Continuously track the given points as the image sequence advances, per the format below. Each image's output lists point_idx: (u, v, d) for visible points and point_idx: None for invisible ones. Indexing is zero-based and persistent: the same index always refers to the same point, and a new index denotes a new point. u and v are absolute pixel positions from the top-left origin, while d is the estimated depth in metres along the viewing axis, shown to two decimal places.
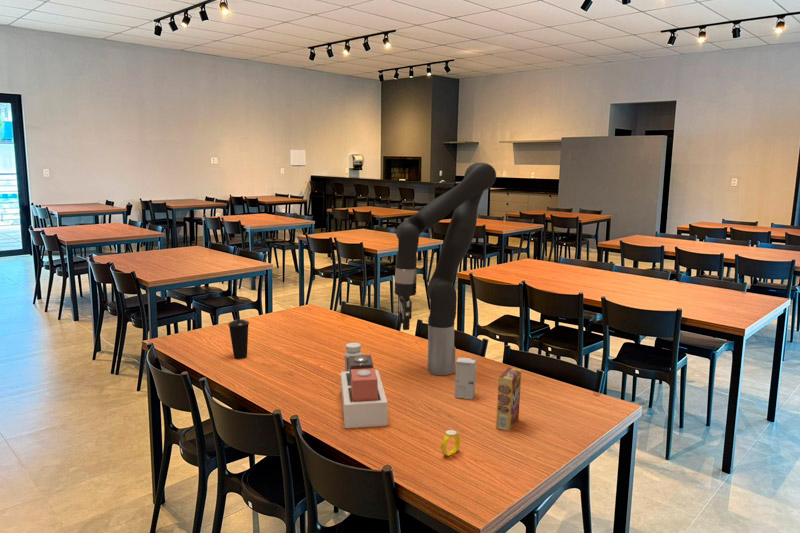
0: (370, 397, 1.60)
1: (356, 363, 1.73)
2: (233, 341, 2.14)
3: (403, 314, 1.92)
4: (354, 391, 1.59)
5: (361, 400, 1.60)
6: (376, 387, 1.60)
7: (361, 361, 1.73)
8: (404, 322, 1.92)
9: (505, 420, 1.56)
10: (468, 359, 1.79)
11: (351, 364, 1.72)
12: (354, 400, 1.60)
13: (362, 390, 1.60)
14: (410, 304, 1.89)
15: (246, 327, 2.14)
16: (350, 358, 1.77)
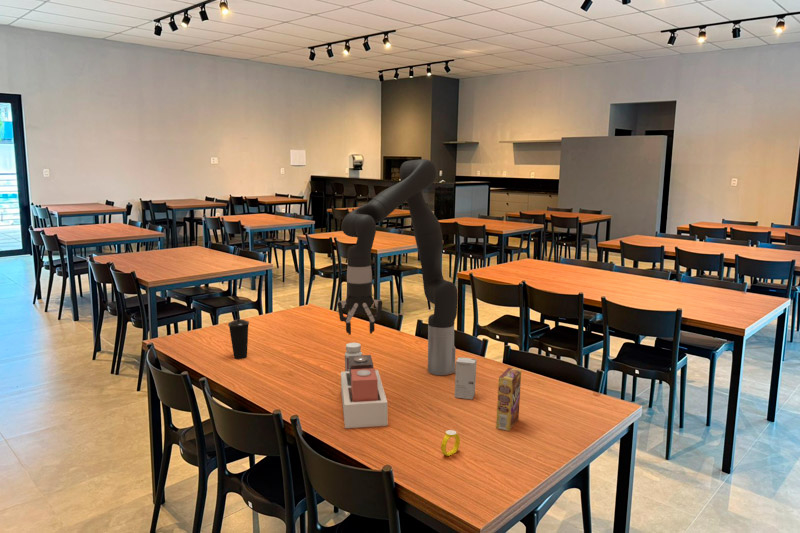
0: (370, 397, 1.60)
1: (356, 363, 1.73)
2: (233, 341, 2.14)
3: (373, 316, 1.72)
4: (354, 391, 1.59)
5: (361, 400, 1.60)
6: (376, 387, 1.60)
7: (361, 361, 1.73)
8: (373, 324, 1.73)
9: (505, 420, 1.56)
10: (468, 359, 1.79)
11: (351, 364, 1.72)
12: (354, 400, 1.60)
13: (362, 390, 1.60)
14: None
15: (246, 327, 2.14)
16: (350, 358, 1.77)
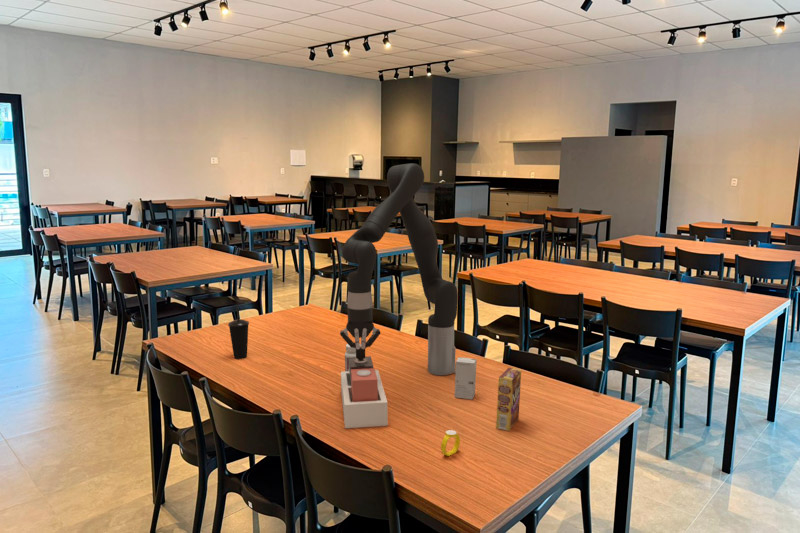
0: (370, 397, 1.60)
1: (356, 364, 1.73)
2: (233, 341, 2.14)
3: (365, 344, 1.74)
4: (354, 391, 1.59)
5: (361, 400, 1.60)
6: (376, 387, 1.60)
7: (361, 362, 1.74)
8: (364, 351, 1.74)
9: (505, 420, 1.56)
10: (468, 359, 1.79)
11: (351, 365, 1.72)
12: (354, 400, 1.60)
13: (362, 390, 1.60)
14: None
15: (246, 327, 2.14)
16: (350, 359, 1.77)
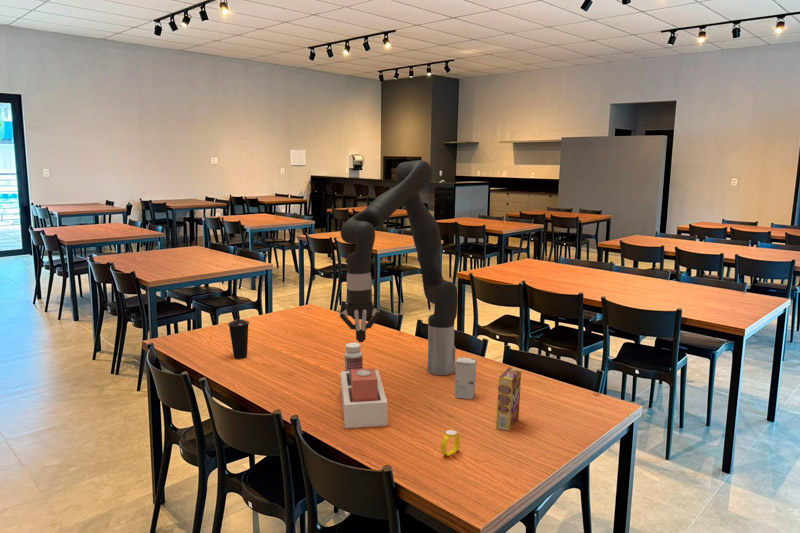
0: (370, 397, 1.60)
1: None
2: (233, 341, 2.14)
3: (365, 325, 1.72)
4: (354, 391, 1.59)
5: (361, 400, 1.60)
6: (376, 387, 1.60)
7: None
8: (364, 333, 1.73)
9: (505, 420, 1.56)
10: (468, 359, 1.79)
11: None
12: (354, 400, 1.60)
13: (362, 390, 1.60)
14: None
15: (246, 327, 2.14)
16: (350, 372, 1.78)
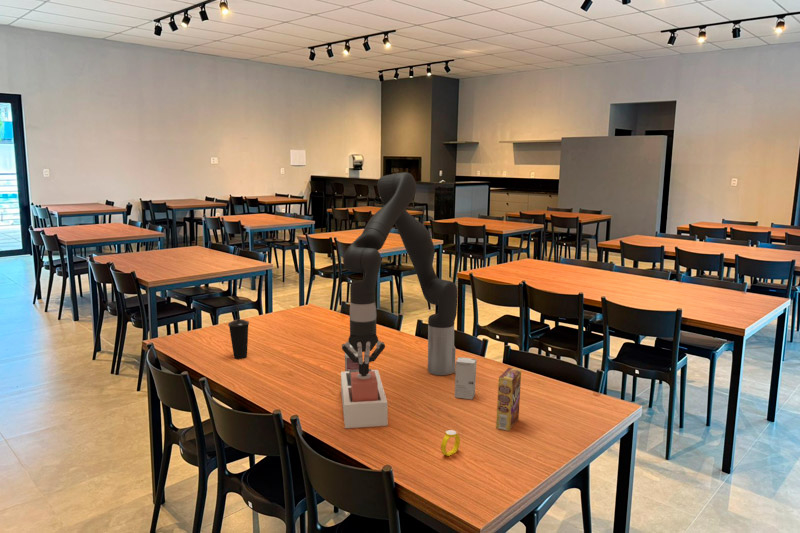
0: (370, 400, 1.60)
1: None
2: (233, 341, 2.14)
3: (369, 358, 1.62)
4: (354, 394, 1.59)
5: None
6: (376, 390, 1.60)
7: None
8: (367, 366, 1.63)
9: (505, 420, 1.56)
10: (468, 359, 1.79)
11: None
12: None
13: (362, 393, 1.60)
14: None
15: (246, 327, 2.14)
16: (350, 372, 1.78)
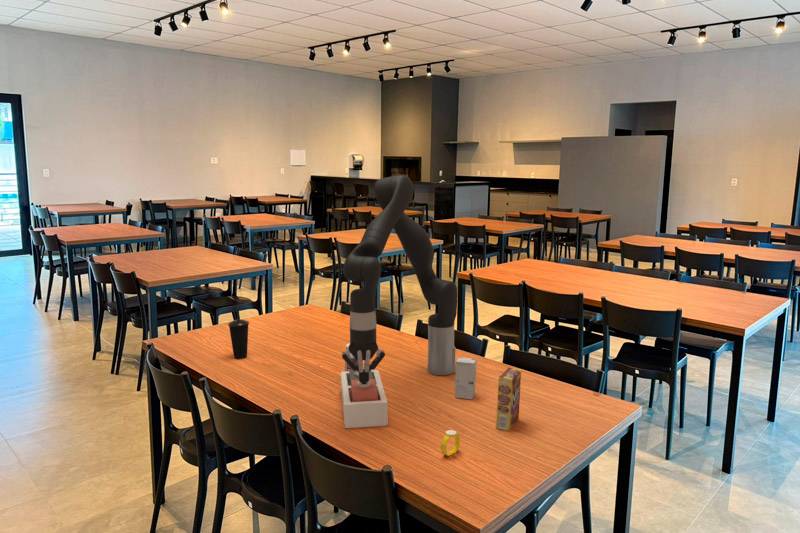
0: None
1: (356, 377, 1.73)
2: (233, 341, 2.14)
3: (369, 367, 1.62)
4: None
5: None
6: (376, 398, 1.61)
7: None
8: (367, 374, 1.63)
9: (505, 420, 1.56)
10: (468, 359, 1.79)
11: (351, 378, 1.72)
12: None
13: (362, 401, 1.60)
14: None
15: (246, 327, 2.14)
16: (350, 372, 1.78)
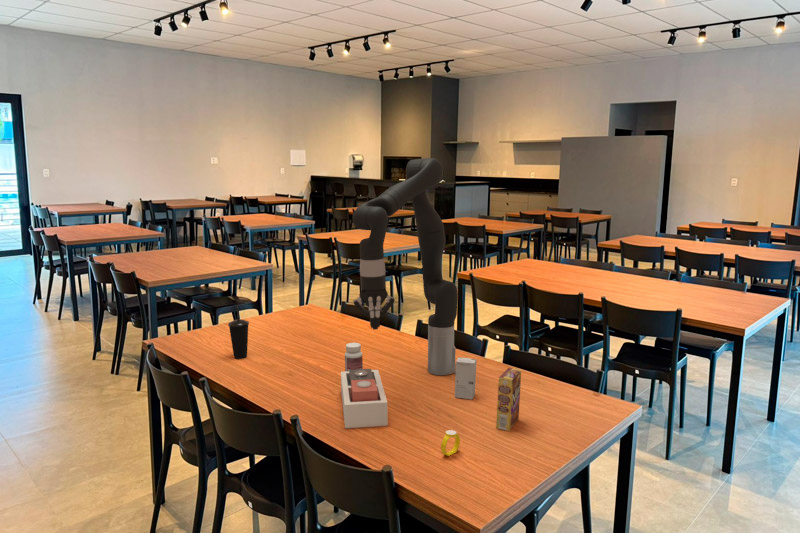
0: None
1: (356, 377, 1.73)
2: (233, 341, 2.14)
3: (379, 312, 1.70)
4: None
5: None
6: (376, 398, 1.61)
7: (361, 375, 1.74)
8: (378, 320, 1.71)
9: (505, 420, 1.56)
10: (468, 359, 1.79)
11: (351, 378, 1.72)
12: None
13: (362, 401, 1.60)
14: None
15: (246, 327, 2.14)
16: (350, 372, 1.78)
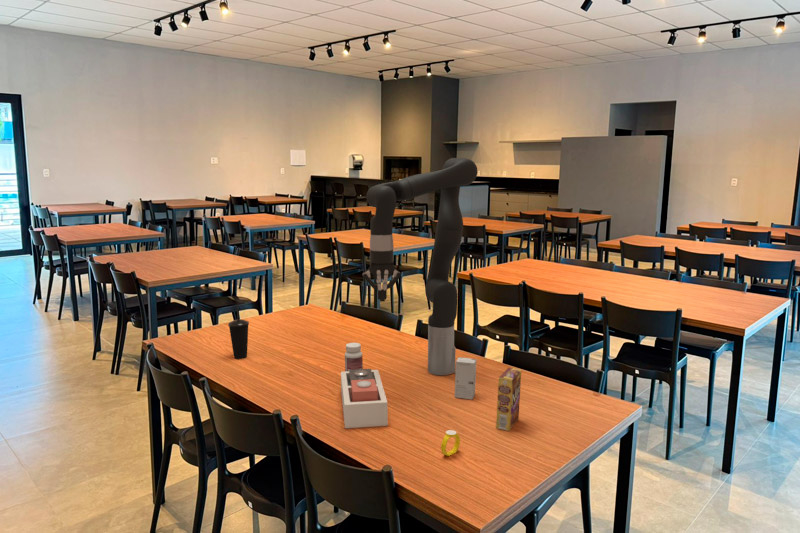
0: None
1: (356, 377, 1.73)
2: (233, 341, 2.14)
3: (387, 285, 1.83)
4: None
5: None
6: (376, 398, 1.61)
7: (361, 375, 1.74)
8: (385, 293, 1.83)
9: (505, 420, 1.56)
10: (468, 359, 1.79)
11: (351, 378, 1.72)
12: None
13: (362, 401, 1.60)
14: None
15: (246, 327, 2.14)
16: (350, 372, 1.78)
